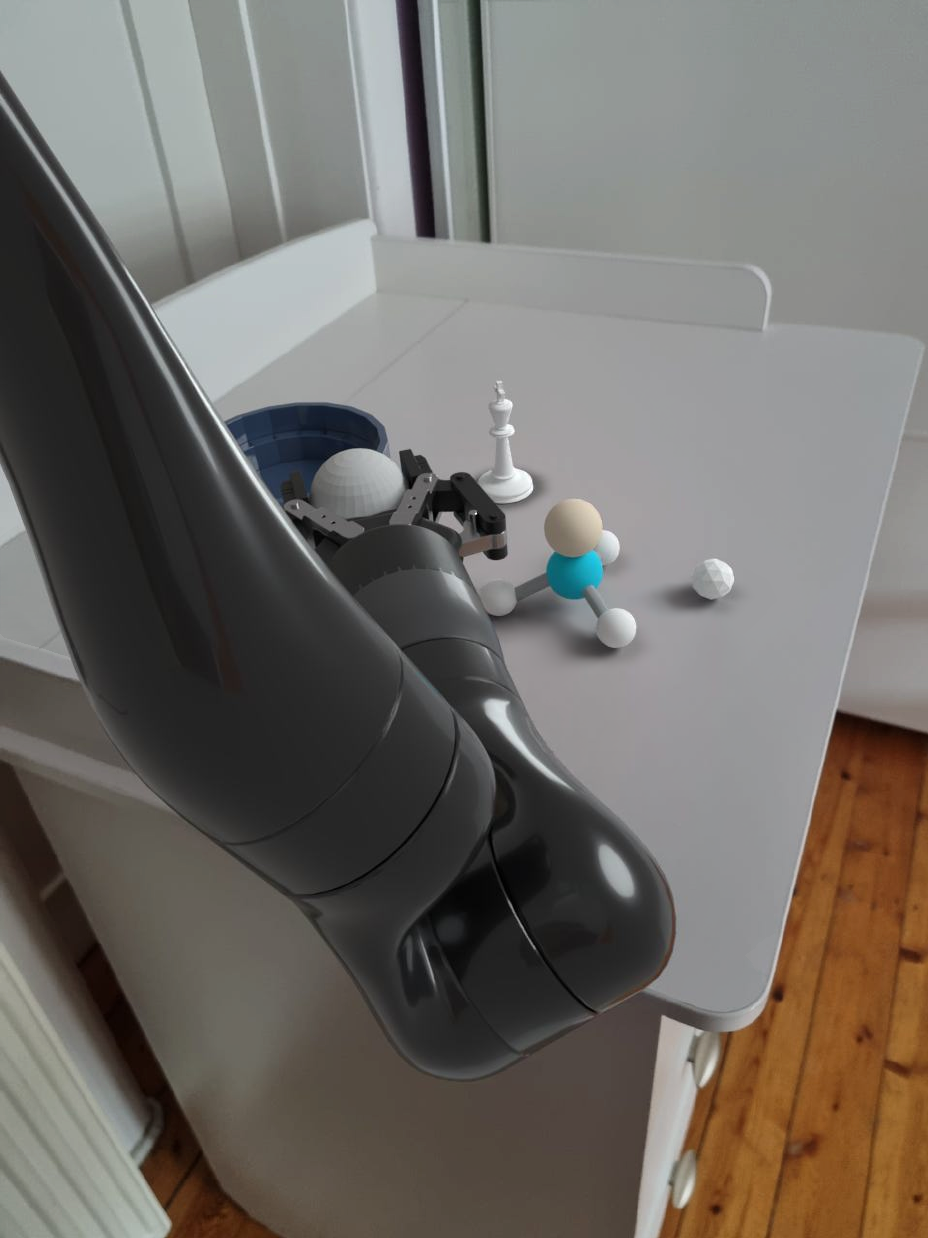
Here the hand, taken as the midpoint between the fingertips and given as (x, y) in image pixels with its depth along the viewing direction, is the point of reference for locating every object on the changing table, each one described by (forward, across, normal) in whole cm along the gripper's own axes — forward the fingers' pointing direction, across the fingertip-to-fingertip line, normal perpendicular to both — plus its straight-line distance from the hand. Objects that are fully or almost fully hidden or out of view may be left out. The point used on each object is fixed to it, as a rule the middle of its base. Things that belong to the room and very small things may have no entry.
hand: (352, 474), depth 57 cm
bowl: (+23, +3, +14) cm, 27 cm away
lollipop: (-2, 0, +13) cm, 13 cm away
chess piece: (+18, -14, +14) cm, 27 cm away
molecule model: (0, -14, +15) cm, 20 cm away
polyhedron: (-2, -24, +15) cm, 28 cm away
